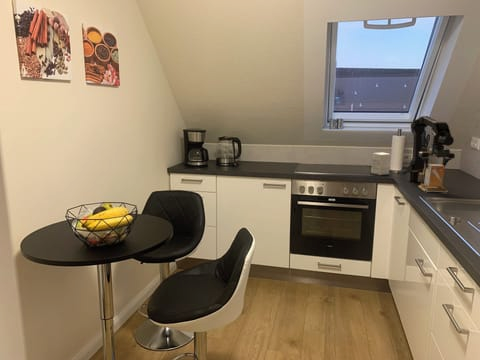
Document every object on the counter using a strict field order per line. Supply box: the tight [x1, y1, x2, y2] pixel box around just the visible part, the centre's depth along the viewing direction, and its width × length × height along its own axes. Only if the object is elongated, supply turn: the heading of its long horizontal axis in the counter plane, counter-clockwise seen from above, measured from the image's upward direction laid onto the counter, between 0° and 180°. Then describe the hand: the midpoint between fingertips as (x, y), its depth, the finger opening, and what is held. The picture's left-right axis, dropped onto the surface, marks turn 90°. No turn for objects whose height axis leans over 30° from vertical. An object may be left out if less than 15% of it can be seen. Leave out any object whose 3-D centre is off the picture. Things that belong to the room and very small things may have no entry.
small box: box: [423, 163, 446, 187], centre depth 226 cm, size 8×6×13 cm
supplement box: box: [370, 151, 392, 176], centre depth 272 cm, size 9×9×15 cm
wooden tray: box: [418, 182, 448, 193], centre depth 227 cm, size 14×12×2 cm
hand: (434, 169), depth 225 cm, fingers open, 9 cm apart
